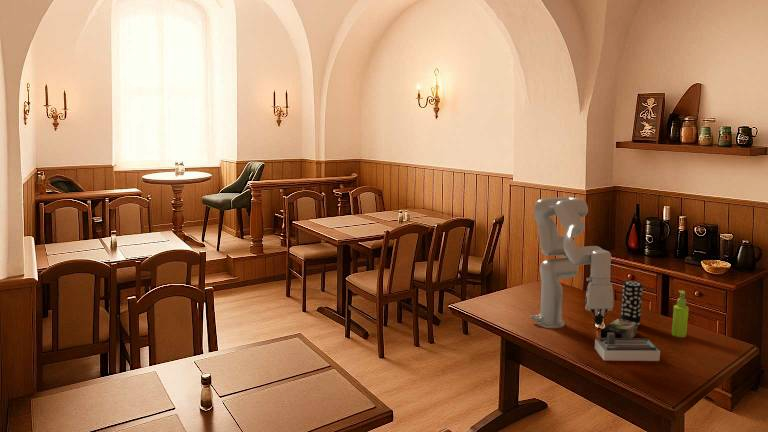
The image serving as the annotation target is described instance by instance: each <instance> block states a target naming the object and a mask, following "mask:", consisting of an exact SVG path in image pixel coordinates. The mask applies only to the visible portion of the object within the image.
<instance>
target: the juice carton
mask: <svg viewBox="0 0 768 432" xmlns="http://www.w3.org/2000/svg"><path fill="white" fill-rule="evenodd" d="M607 332H613V333H614V334H615V335H618V336H619V337H618V338H634V337H635V336H636V335H637V334H638V327H637V323H635V322H631V321H629V320H628V321H627V320H621V318H617V319H615V320H613V321H612V322H610V323H609V324H607V325H606V326H604V327H603V328H602V329H601V330H600V338H607Z"/></svg>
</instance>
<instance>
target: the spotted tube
mask: <svg viewBox="0 0 768 432" xmlns="http://www.w3.org/2000/svg"><path fill="white" fill-rule="evenodd" d="M622 284H623V285H622V296H621V312H620V319H621V320H627V321H628V320H629V321H631V322H635V323H637V328H639V327H640V326H641V315H642V313H641V312H642V303H643V301H642V300H643V298H642V297H643V287H644V285H643V283H642V282H640V281H635V280H625V281H623V283H622Z"/></svg>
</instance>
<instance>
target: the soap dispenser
mask: <svg viewBox="0 0 768 432" xmlns="http://www.w3.org/2000/svg"><path fill="white" fill-rule="evenodd" d="M678 292H679V298H677V303H676V304H675V305H673V313H672V322H671V323H672V324H671V335H672V336H673V337H677V338H686V337H687V331H688V321H689V320H688V319H689V312H690V311H689V309H690V308H689V306H687V305H686V304H687V299H686V298H685V295H686V291H685V290H680V289H679V290H678Z"/></svg>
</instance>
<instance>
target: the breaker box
mask: <svg viewBox="0 0 768 432" xmlns="http://www.w3.org/2000/svg"><path fill="white" fill-rule="evenodd" d="M594 349H595V350H596V352H597V354H598V355H599V356H600V357H601V358H602V360H603V361H614V362H615V361H623V362H624V361H625V362H626V361H629V362H634V361H635V362H637V361H638V362H639V361H640V362H644V361H645V362H659V361H660V359H661V357H660V356H661V351H660V350H659V348H657V347H656V346H655V345H654V344H653V343H652V342H651V341H650V340H649V339H648V338H643V337H642V338H634V337H632V338H620V337H615V344H607V337H605V338H601V337H599V339H594Z"/></svg>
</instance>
